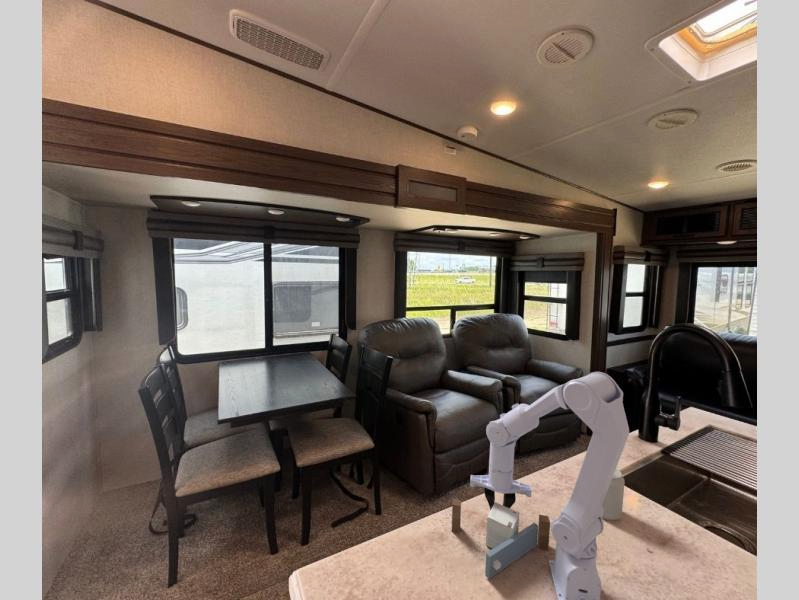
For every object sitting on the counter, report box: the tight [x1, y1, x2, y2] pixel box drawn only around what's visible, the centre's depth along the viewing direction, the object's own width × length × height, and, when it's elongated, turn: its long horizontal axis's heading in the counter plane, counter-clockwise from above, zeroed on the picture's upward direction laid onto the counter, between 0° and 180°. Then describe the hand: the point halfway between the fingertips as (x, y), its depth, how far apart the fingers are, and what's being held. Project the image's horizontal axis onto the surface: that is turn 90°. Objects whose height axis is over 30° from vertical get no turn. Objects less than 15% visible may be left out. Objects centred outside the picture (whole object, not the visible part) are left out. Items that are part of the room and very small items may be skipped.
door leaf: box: [484, 522, 539, 580], centre depth 70 cm, size 2×16×5 cm, turn 122°
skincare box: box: [485, 502, 520, 550], centre depth 75 cm, size 6×6×7 cm
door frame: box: [451, 498, 551, 552], centre depth 77 cm, size 2×22×7 cm, turn 76°
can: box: [602, 467, 626, 521], centre depth 86 cm, size 8×8×12 cm
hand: (498, 516), depth 81 cm, fingers closed
